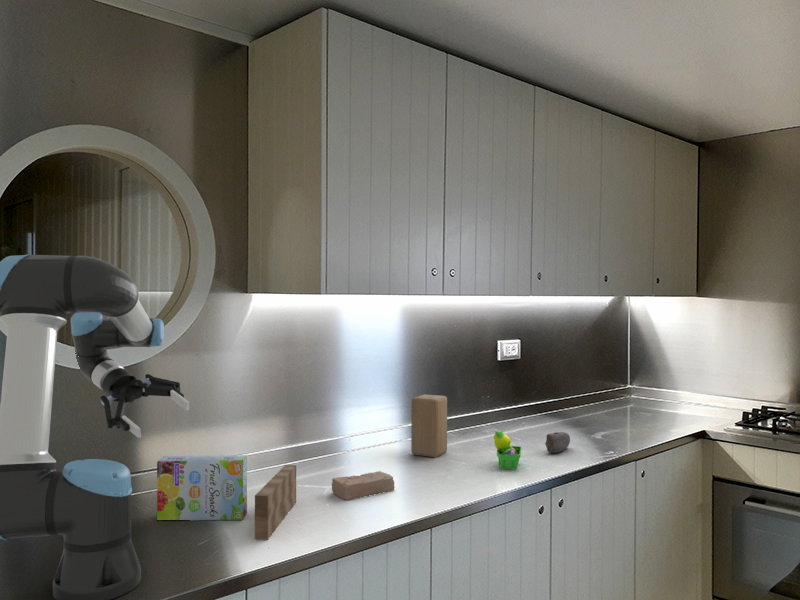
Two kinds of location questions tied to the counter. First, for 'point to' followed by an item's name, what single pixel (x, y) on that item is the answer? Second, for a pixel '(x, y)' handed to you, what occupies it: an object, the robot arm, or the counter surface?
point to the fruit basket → (506, 451)
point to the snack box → (202, 487)
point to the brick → (362, 485)
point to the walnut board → (275, 502)
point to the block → (429, 425)
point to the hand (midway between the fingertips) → (164, 419)
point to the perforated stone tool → (557, 442)
